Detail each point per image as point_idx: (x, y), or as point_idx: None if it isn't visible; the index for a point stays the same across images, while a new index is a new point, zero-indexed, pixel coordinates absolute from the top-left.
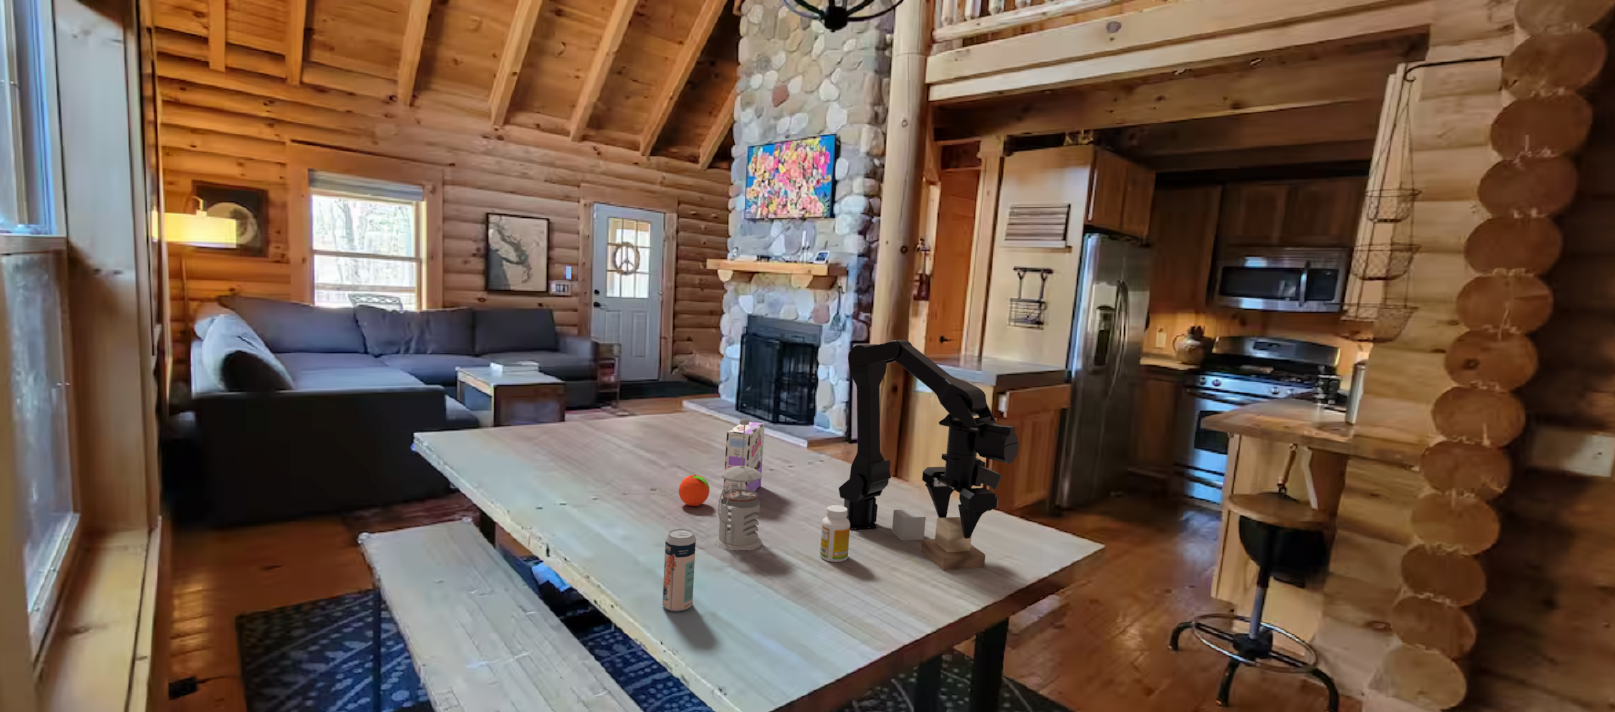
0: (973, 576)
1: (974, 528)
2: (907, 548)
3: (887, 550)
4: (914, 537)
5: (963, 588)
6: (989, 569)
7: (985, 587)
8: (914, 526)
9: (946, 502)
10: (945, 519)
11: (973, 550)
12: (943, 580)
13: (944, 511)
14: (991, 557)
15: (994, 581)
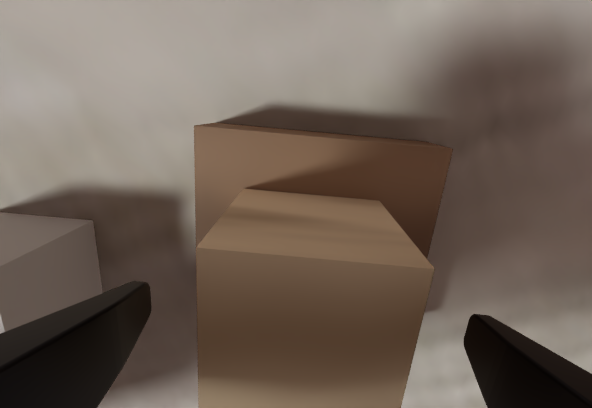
0: (482, 248)
1: (583, 371)
2: (179, 329)
3: (186, 395)
4: (91, 266)
5: (542, 340)
6: (458, 135)
7: (580, 265)
8: (52, 300)
9: (2, 402)
10: (235, 385)
11: (382, 179)
12: (459, 363)
13: (98, 344)
14: (348, 23)
15: (561, 196)
